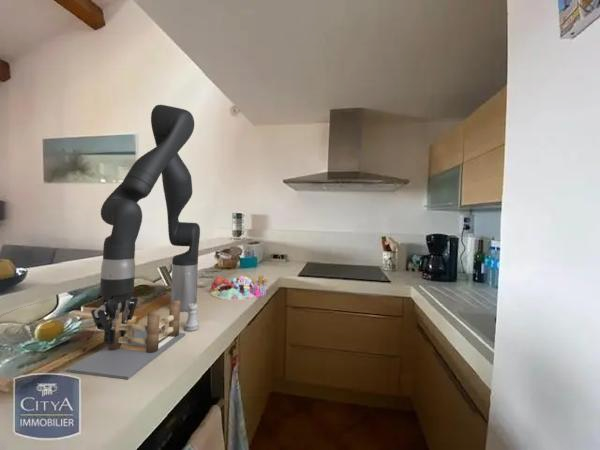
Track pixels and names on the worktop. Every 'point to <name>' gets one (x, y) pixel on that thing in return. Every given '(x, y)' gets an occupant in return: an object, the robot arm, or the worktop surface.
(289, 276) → the worktop surface
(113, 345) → the swinging fence panel
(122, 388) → the worktop surface
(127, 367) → the board
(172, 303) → the fixed fence section
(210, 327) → the worktop surface
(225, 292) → the candy landscape model
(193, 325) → the rook chess piece
